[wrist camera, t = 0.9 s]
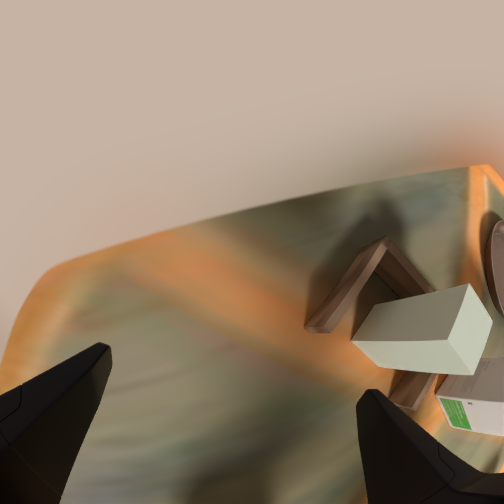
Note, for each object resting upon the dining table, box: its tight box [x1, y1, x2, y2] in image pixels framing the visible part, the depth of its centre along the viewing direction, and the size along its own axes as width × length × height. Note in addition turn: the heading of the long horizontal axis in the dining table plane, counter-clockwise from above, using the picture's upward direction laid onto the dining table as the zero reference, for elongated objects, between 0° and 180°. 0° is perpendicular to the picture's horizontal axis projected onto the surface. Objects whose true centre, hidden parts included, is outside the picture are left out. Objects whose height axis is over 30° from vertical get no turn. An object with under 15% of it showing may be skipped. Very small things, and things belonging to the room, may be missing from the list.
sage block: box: [351, 283, 493, 375], centre depth 19 cm, size 4×4×12 cm
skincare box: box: [435, 358, 504, 436], centre depth 17 cm, size 8×7×16 cm
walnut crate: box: [304, 235, 437, 411], centre depth 23 cm, size 10×14×4 cm
